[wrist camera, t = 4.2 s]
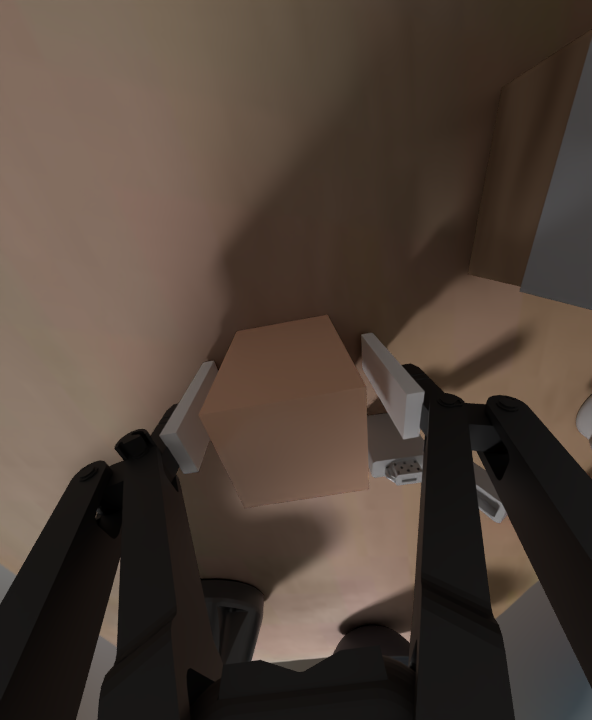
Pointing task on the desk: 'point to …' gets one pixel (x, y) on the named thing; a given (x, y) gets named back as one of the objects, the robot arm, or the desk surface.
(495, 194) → the tower base
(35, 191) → the desk surface
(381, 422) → the lighter
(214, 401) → the clay block
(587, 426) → the mug
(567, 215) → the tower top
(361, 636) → the planter
